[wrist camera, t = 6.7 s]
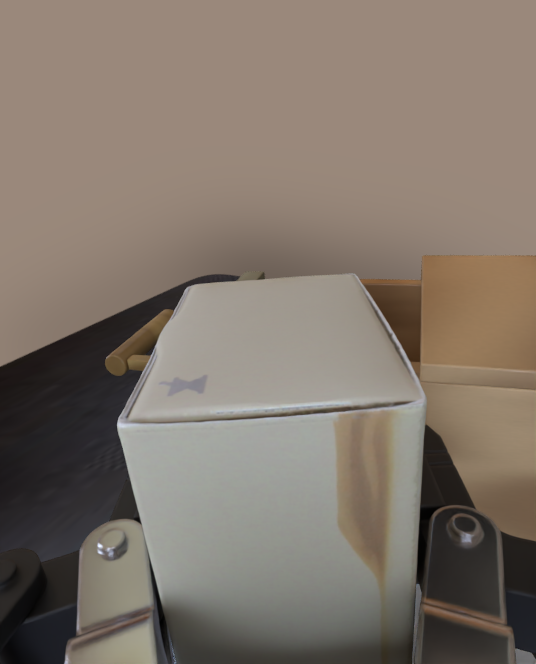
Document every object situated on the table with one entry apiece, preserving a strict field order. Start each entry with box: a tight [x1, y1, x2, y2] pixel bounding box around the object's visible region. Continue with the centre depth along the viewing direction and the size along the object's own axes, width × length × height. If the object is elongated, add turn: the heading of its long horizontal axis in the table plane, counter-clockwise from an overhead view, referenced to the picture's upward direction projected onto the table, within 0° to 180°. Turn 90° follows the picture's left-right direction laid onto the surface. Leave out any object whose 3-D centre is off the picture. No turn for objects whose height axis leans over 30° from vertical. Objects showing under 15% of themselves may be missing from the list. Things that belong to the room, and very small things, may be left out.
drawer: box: [105, 272, 421, 379], centre depth 24 cm, size 17×11×6 cm, turn 74°
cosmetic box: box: [117, 273, 427, 664], centre depth 11 cm, size 6×4×12 cm
